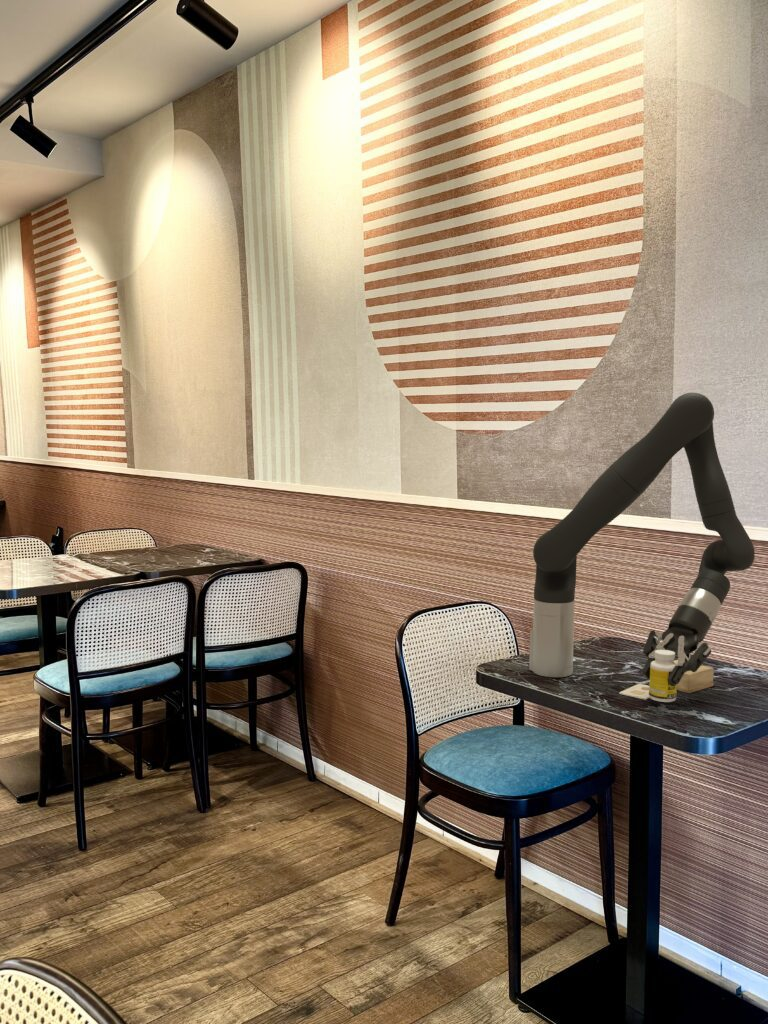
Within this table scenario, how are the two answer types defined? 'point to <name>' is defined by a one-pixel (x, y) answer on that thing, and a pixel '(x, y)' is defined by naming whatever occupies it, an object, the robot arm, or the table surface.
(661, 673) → the supplement bottle
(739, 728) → the table surface
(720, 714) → the table surface
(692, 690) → the beech block
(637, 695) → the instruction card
